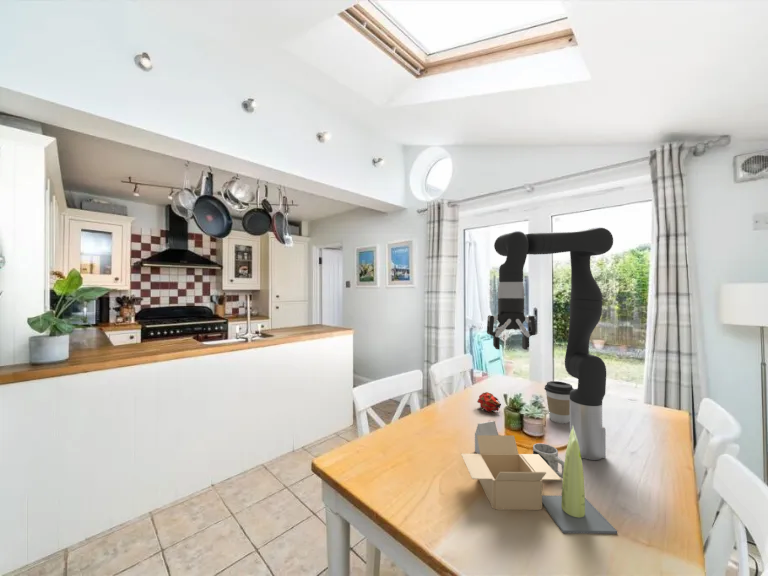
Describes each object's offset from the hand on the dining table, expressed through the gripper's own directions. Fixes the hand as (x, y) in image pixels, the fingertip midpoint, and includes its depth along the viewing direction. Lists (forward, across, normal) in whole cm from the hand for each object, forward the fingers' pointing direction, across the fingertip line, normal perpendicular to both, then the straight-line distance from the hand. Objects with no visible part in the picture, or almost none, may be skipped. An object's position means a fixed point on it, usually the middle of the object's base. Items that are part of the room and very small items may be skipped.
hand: (511, 349), depth 97 cm
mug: (+36, -10, +4) cm, 38 cm away
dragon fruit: (+36, -8, -45) cm, 58 cm away
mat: (+36, -7, +21) cm, 42 cm away
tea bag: (+36, +5, -8) cm, 38 cm away
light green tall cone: (+36, -7, +21) cm, 42 cm away
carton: (+36, +6, +13) cm, 39 cm away
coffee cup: (+36, -34, -35) cm, 61 cm away
